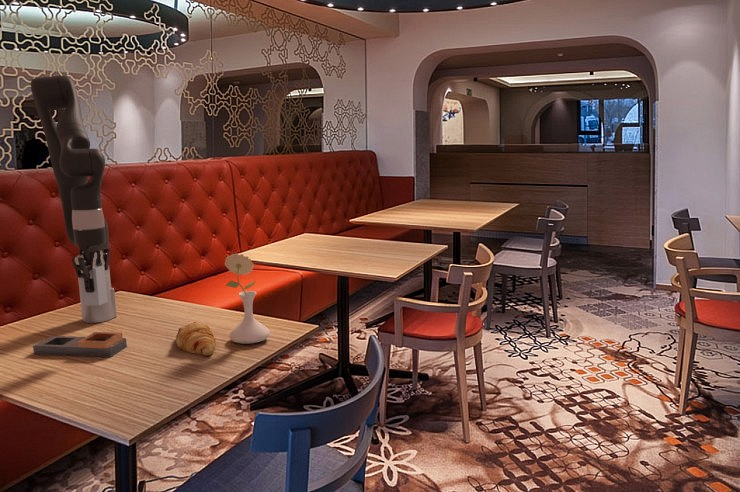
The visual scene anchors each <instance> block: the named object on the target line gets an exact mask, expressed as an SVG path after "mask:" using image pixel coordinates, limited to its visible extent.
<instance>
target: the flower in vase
mask: <svg viewBox="0 0 740 492" xmlns="http://www.w3.org/2000/svg"><path fill="white" fill-rule="evenodd" d="M224 261H225V262H224V265H225V267H226V269H228V271H229V272H230V273H232V274H237V277H236V281H235V280H229V282H227V283H226V285H225V287H229V288H232V289H233V288H234V289H237V288H238V287H240V289H241V290H242V291H240V292H238V297H240V298H241V301H242V304H243V311H244V316H243V319H242V321H241V322H239V323H238V324H237V325H236V326H235V327H234V328H233V329H232V330H231V331H230V332H229V334H228V337H229V339H230V341H232V342H235V343H237V344H244V345H245V344H247V345H248V344H256V343H260V342H262V341H265V340H266V339H268V338H269V337H270V336H271V332H270V329H268V328H267V327H266V326H265V325H264V324H262V323H260V322H259V321H258V320H257V319H255V317H254V314H253V307H254V306H253V304H254V303H253V302H254V299H255V296H256V295H257V292H256V291H255V290H253V291H252V290H248V289H249V288H251V287H253V286H254V284H255V283H256V280H254V281H252V282H250V283H248V284H247V285H245V287H244V288H243V286H242V284H241V283H240V280H239V276H240V275H241V276H245V275H248V274H249V273H253V270H254V267H255V265H254V262H252V259H251V258H249V256H247V255H246V256H244V253H236V252H235V253H232V254H230V255H227V257H225V260H224ZM246 289H247V290H246Z"/></svg>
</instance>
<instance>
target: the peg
mask: <svg viewBox="0 0 740 492" xmlns="http://www.w3.org/2000/svg"><path fill="white" fill-rule="evenodd" d="M90 266H91V265H89V266H86V267H90ZM87 271H88V274H89V269H87ZM93 279H94V289H95V291H94V292H92V293H87V292H86V291H85V284H84V279H83V278H82V280H83V290H84V300H85V305H93V306H100V305H102V304H104V303H106V302H108V300H107V289H106V278H105V268H104V265H103V266H96V267H95V269H94V270H93Z"/></svg>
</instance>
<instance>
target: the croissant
mask: <svg viewBox="0 0 740 492" xmlns="http://www.w3.org/2000/svg"><path fill="white" fill-rule="evenodd" d="M175 344H176V345H177V348H179V349H181V350H182V351H184V352H187V353H192V354H196V355H202V356H211V355H212V354H213V353H214V352H215V350H216V347H217V342H216V338H215V336H214V333H213V332H212V331H211V328H210V327H209V326H208V325H206V324H204V323H200V322H197V321H195V322H192V323H189V324H187V325H185V326H182V327H179V328H178V330H177V333H176V336H175Z"/></svg>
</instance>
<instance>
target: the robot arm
mask: <svg viewBox="0 0 740 492" xmlns="http://www.w3.org/2000/svg"><path fill="white" fill-rule="evenodd" d="M30 90H31V94H32V99H33V102H34V105H35V108H36V111H37V113H38V118H39V119H40V124H41V126H42V127H41V128H42V130H43V133H44V137H45V141H46V145H47V150H48V153H49V154H48V155H49V159H50V163H51V167H52V171H53V175H54V178H55V180H56V185H57V189H58V192H59V193H58V194H59V197H60V202H61V205H62V213H63V219H64V225H65V231H66V236H67V238H68V240H69V242H70V243H71V244H72V245H75V246H78V249H79V250H78V255H77V256H73V257H71V261H72V264H73V268H74V270H75V273H76V276H77V279H78V281H77V282H78V290H79V299H80V301H79V302H80V309H81V318H82V322H84V323H86V324H89V323H90V324H95V323H103V322H108V321H110V320H112V319H114V318H117V317H118V315H117V305H116V304H117V303H116V296H115V295H116V294H115V289H114V287H112V283H111V272H110V258H111V257H110V254H111V249H110V235H109V232H110V231H109V225H108V222H107V220H106V218H105V217H104V216H105V215H104V213H103V205H102V195H101V192H102V191H101V190H102V182H103V176H104V172H105V168H106V158H105V155H104V153H103V152H102V151H101V150H99V149H98V148H90V147H91V141H90V138H89V135H88V133H87V130H86V127H85V126H84V125H85V124H84V122H83V121H84V120H83V117H82V109H81V105H80V100H79V96H78V92H77V89H76V86H75V83H74V81H73V79H72V78H71V77H70V76H68V75H55V76H54V75H53V76H43V77H35V78H33V79H31V81H30ZM60 110H64V112H63V113H62V114H61V116H60V117H59V118H58V121H57V122H56V121H55V119H54V118H53V117H52V114H51V111H52V112H53V111H60ZM89 177H90V178H89ZM89 265H91V266H90V267H86V266H89ZM103 265H104V268H105V278H106V289H107V300H108V302H106V303H104V304H102V305H100V306H93V305H85V300H84V290H83V280H82V278H83V279H84V284H85V291H86V292H87V293H92V292H94V291H95V289H94V279H93V270H94V269H95V267H96V266H103ZM87 269H89V274H88V271H87Z"/></svg>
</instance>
